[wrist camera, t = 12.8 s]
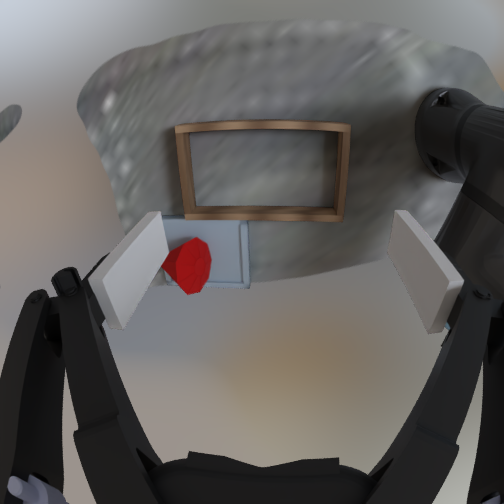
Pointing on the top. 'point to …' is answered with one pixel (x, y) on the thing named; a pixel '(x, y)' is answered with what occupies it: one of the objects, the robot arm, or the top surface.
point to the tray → (214, 248)
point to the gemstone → (189, 265)
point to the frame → (263, 211)
